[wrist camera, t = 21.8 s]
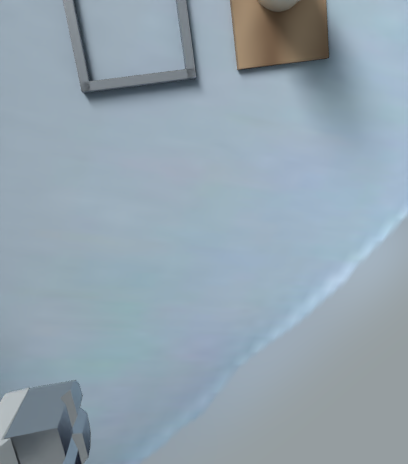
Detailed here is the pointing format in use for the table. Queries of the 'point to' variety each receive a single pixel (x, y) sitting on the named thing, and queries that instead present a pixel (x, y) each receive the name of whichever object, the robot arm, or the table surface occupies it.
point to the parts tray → (130, 80)
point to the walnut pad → (279, 33)
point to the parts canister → (278, 4)
